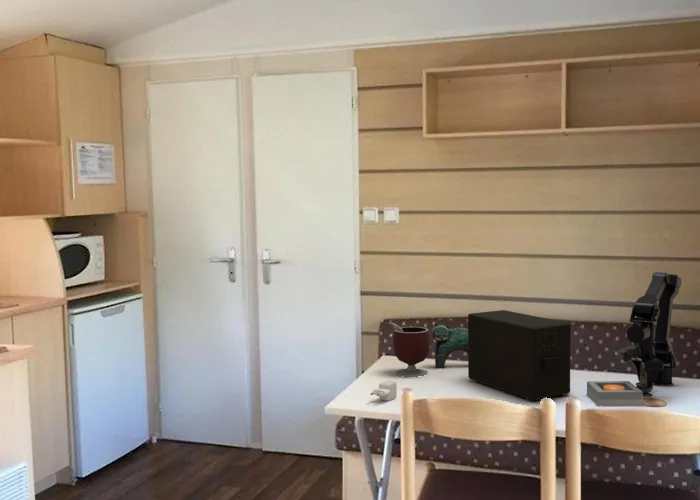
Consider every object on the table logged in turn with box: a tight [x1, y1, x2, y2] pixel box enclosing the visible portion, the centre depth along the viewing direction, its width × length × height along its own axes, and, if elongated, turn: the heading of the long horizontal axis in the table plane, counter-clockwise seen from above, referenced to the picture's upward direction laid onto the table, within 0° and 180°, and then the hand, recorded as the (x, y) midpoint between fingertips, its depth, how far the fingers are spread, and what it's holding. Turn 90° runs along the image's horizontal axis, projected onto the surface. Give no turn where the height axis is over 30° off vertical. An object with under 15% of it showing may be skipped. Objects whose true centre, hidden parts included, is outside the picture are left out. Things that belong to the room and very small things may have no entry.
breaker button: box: [603, 384, 625, 390], centre depth 253 cm, size 7×7×2 cm
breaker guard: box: [586, 380, 644, 407], centre depth 253 cm, size 14×14×4 cm
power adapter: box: [370, 380, 398, 402], centre depth 256 cm, size 11×5×6 cm, turn 144°
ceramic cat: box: [431, 317, 468, 369], centre depth 303 cm, size 20×6×20 cm, turn 95°
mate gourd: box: [388, 321, 431, 378], centre depth 293 cm, size 16×14×20 cm
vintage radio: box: [467, 309, 572, 402], centre depth 269 cm, size 38×20×25 cm, turn 28°
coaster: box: [643, 397, 668, 408], centre depth 249 cm, size 9×9×1 cm
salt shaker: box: [635, 365, 655, 398], centre depth 258 cm, size 6×6×12 cm
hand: (644, 384), depth 258 cm, fingers closed on salt shaker, 8 cm apart
